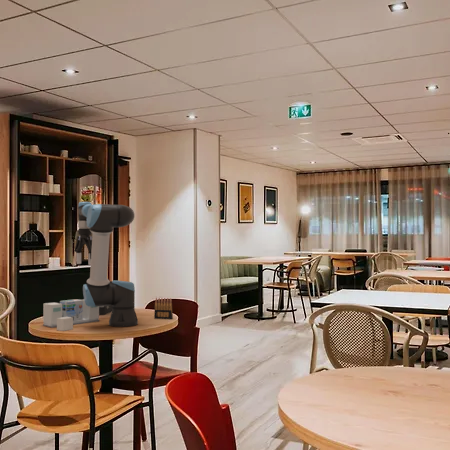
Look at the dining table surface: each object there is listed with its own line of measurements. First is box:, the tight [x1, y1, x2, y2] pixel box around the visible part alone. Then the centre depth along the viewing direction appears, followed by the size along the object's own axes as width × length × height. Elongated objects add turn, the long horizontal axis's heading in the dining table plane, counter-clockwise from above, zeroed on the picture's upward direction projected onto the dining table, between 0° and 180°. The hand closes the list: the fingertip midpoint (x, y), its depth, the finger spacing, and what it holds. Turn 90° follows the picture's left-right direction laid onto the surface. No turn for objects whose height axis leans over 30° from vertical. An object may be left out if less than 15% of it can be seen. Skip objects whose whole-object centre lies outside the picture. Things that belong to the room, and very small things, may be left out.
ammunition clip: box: [153, 297, 174, 320], centre depth 293 cm, size 11×2×12 cm, turn 74°
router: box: [99, 280, 113, 316], centre depth 316 cm, size 8×18×20 cm, turn 174°
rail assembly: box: [42, 299, 100, 329], centre depth 278 cm, size 10×28×12 cm, turn 135°
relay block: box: [56, 317, 74, 332], centre depth 259 cm, size 5×6×6 cm
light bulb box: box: [59, 299, 84, 321], centre depth 279 cm, size 11×7×11 cm, turn 140°
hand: (84, 264), depth 302 cm, fingers open, 13 cm apart
